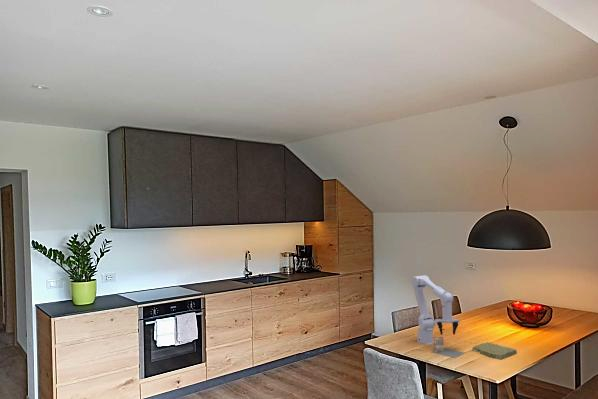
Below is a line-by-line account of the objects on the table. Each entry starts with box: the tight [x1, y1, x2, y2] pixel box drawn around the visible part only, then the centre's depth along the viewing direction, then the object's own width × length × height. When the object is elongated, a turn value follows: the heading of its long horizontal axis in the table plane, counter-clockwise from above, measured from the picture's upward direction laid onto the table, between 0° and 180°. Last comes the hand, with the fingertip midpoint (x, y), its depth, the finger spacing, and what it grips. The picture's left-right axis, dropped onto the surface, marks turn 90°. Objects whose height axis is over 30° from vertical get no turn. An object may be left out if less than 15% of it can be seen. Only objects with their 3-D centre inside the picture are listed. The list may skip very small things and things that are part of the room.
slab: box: [433, 336, 445, 353], centre depth 279 cm, size 2×7×8 cm, turn 134°
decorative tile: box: [471, 341, 518, 361], centre depth 274 cm, size 19×20×4 cm
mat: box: [430, 347, 465, 359], centre depth 275 cm, size 16×13×1 cm
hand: (447, 334), depth 281 cm, fingers open, 7 cm apart
